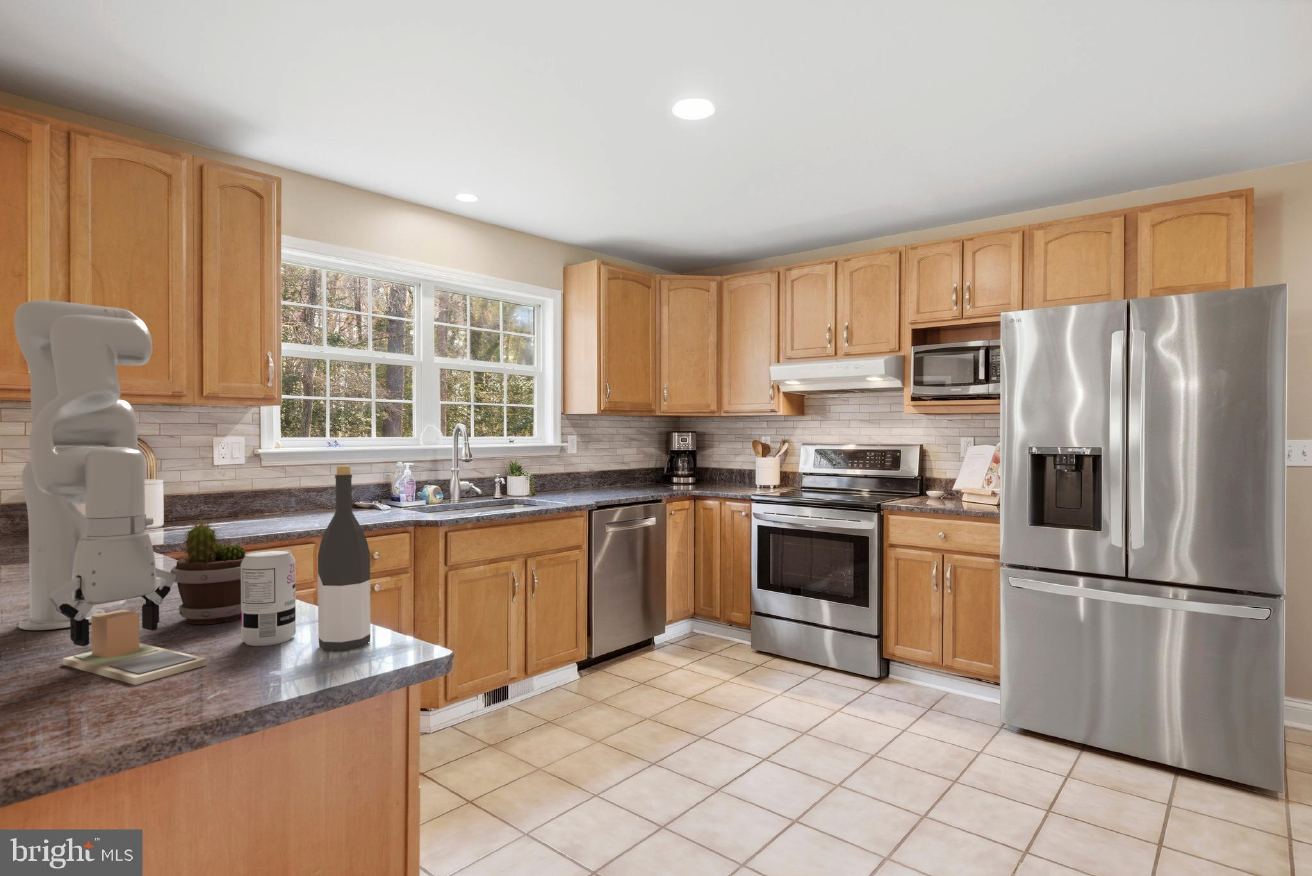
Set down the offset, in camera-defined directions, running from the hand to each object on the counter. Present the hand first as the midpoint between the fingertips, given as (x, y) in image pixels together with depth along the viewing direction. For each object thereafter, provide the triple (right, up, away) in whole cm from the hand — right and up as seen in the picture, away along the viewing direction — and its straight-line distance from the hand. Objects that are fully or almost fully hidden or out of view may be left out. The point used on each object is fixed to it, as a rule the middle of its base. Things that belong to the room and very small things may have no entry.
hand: (116, 636), depth 115 cm
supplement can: (+18, -4, +11) cm, 21 cm away
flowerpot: (0, -4, +26) cm, 26 cm away
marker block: (0, -2, 0) cm, 3 cm away
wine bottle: (+32, -4, +8) cm, 34 cm away
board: (+4, -4, -2) cm, 6 cm away
